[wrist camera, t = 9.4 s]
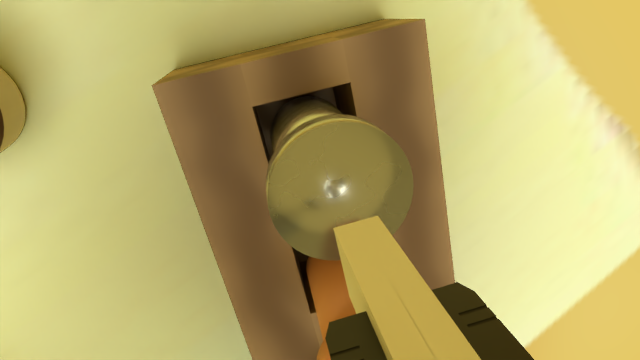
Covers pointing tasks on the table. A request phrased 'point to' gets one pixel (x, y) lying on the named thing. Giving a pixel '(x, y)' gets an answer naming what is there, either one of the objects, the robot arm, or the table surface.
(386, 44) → the brown wooden block
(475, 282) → the table surface
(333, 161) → the plunger
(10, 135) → the coffee cup
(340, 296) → the plunger
